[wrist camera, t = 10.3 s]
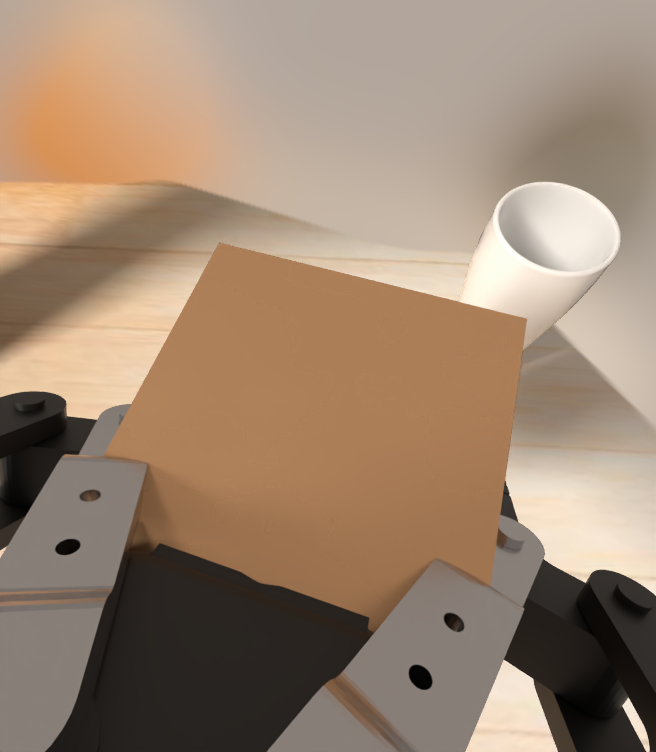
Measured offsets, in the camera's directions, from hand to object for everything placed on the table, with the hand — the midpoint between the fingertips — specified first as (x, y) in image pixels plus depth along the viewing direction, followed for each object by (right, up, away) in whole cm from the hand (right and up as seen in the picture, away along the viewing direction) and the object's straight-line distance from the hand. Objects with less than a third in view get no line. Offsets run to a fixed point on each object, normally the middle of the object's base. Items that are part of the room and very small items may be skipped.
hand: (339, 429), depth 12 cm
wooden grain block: (0, -3, +3) cm, 5 cm away
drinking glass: (+12, +3, +24) cm, 27 cm away
